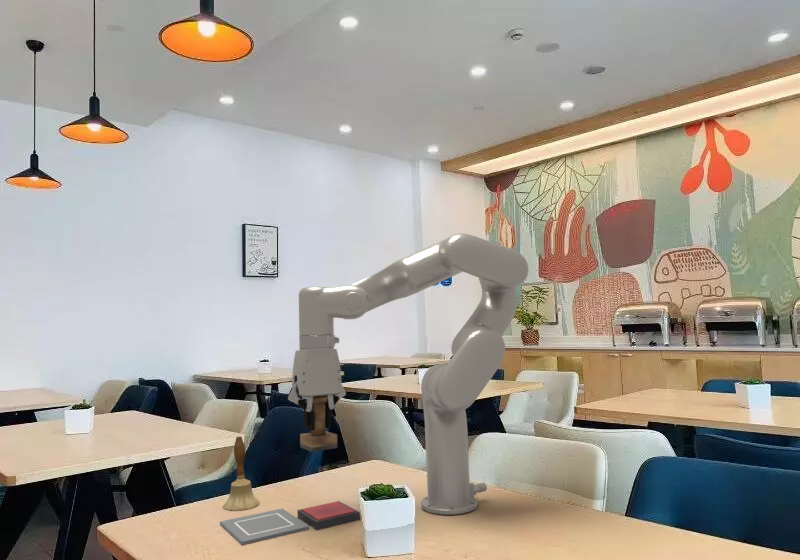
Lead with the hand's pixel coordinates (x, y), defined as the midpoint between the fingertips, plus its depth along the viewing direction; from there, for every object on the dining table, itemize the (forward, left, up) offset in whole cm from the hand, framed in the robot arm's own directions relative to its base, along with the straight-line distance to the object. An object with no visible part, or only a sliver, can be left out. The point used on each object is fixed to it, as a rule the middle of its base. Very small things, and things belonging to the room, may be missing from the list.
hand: (318, 427), depth 130 cm
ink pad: (-2, +1, -19) cm, 19 cm away
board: (+11, -3, -19) cm, 23 cm away
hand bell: (+10, -21, -20) cm, 31 cm away
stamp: (0, 0, -4) cm, 4 cm away
